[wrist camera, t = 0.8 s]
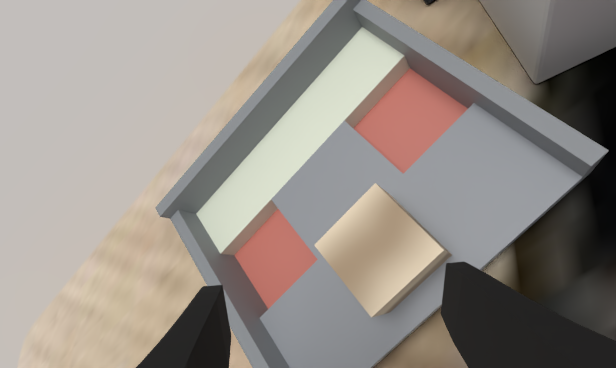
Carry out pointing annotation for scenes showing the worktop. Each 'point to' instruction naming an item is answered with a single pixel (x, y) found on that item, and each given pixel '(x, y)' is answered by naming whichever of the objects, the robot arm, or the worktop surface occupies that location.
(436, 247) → the maple block
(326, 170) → the trap tray
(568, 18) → the soap bottle
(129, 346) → the worktop surface
